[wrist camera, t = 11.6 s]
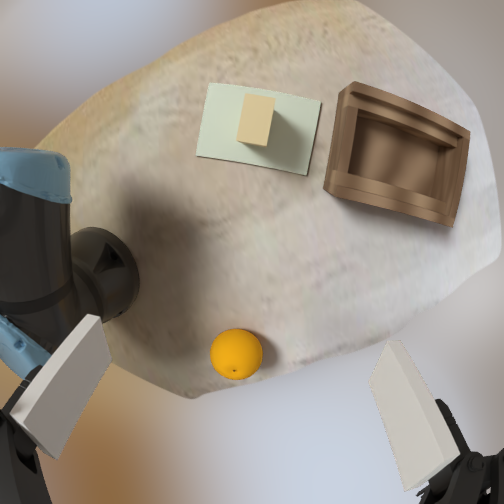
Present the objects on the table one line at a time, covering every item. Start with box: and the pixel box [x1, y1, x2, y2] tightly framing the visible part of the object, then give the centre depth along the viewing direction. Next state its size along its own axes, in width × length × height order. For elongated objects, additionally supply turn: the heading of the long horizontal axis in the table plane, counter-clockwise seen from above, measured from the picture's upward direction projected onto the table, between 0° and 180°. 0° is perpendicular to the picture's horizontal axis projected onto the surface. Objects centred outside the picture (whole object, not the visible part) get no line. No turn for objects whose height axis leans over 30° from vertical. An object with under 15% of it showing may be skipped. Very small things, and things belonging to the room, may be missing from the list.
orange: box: [210, 329, 263, 380], centre depth 39 cm, size 8×8×8 cm
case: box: [323, 81, 470, 228], centre depth 28 cm, size 17×13×6 cm
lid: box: [196, 83, 321, 175], centre depth 27 cm, size 14×10×8 cm
